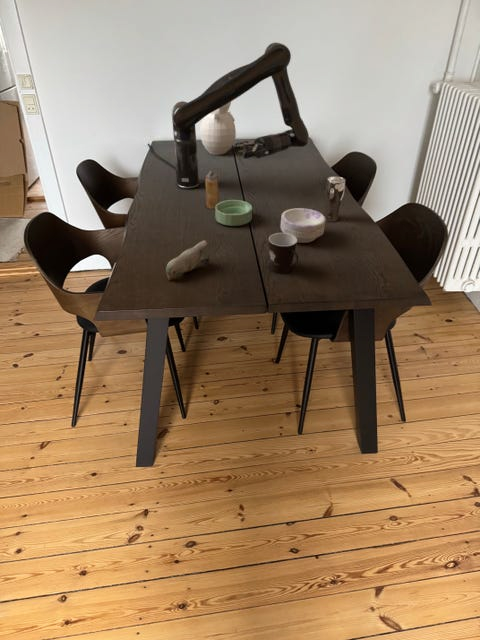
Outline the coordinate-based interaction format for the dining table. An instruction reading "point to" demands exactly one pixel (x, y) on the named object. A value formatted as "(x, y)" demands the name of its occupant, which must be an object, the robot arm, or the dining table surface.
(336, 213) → the beer glass
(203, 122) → the pitcher
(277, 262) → the coffee mug
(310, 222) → the paper bowls
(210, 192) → the pepper mill
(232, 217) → the serving bowl
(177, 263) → the decorative bird
